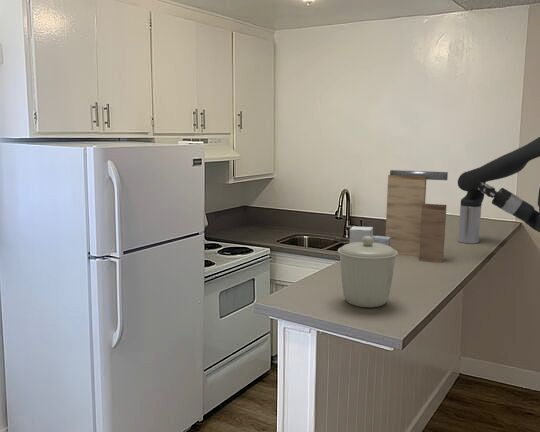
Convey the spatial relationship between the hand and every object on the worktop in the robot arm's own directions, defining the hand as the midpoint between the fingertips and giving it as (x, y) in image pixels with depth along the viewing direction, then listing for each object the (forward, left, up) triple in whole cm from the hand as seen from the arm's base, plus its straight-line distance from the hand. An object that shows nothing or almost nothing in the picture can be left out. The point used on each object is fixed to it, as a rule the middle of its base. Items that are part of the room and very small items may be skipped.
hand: (471, 180), depth 228 cm
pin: (+2, -21, 0) cm, 21 cm away
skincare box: (+33, -38, -32) cm, 60 cm away
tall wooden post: (+10, -13, -32) cm, 36 cm away
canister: (+75, -28, -32) cm, 86 cm away
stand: (+2, -25, -32) cm, 41 cm away
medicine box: (+14, -34, -32) cm, 49 cm away
